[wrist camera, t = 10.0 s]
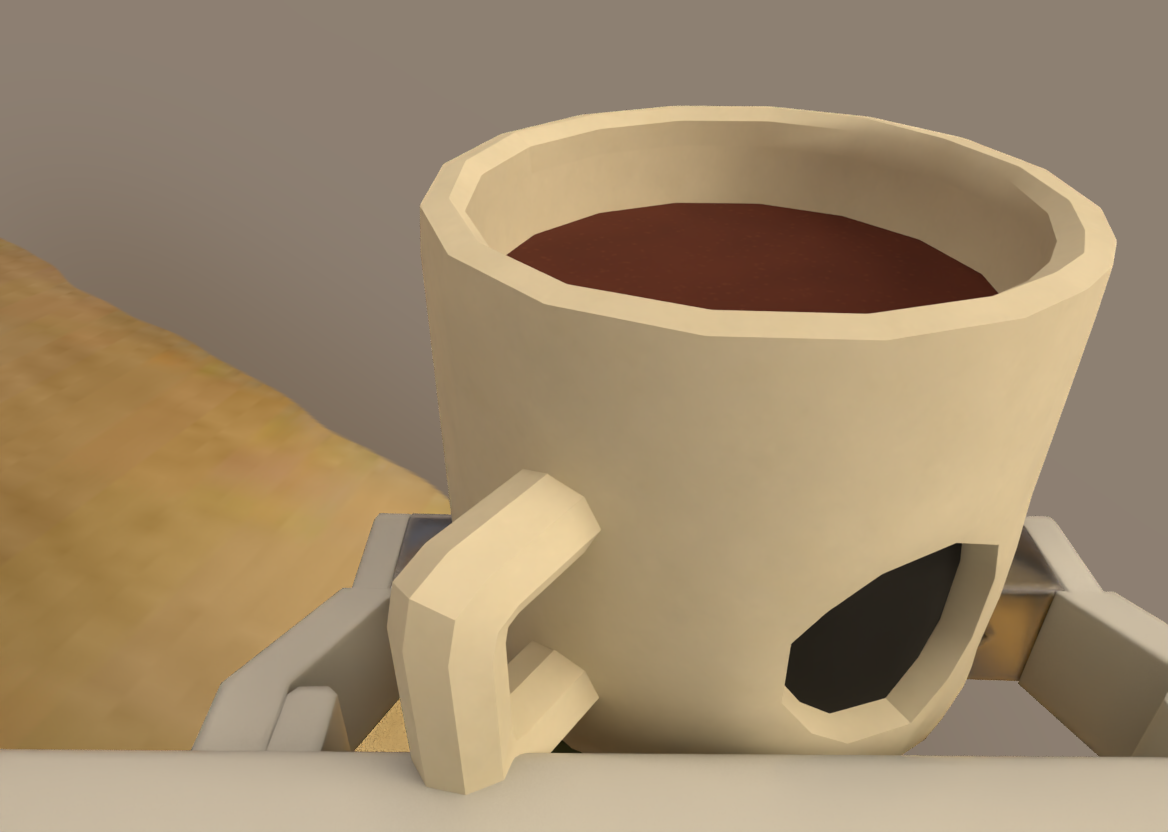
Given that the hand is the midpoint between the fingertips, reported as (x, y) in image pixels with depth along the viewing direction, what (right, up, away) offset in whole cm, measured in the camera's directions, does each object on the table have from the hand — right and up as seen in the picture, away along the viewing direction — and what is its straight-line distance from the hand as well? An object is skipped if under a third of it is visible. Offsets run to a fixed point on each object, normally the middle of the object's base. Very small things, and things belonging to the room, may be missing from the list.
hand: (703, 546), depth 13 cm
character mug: (0, -6, +3) cm, 7 cm away
